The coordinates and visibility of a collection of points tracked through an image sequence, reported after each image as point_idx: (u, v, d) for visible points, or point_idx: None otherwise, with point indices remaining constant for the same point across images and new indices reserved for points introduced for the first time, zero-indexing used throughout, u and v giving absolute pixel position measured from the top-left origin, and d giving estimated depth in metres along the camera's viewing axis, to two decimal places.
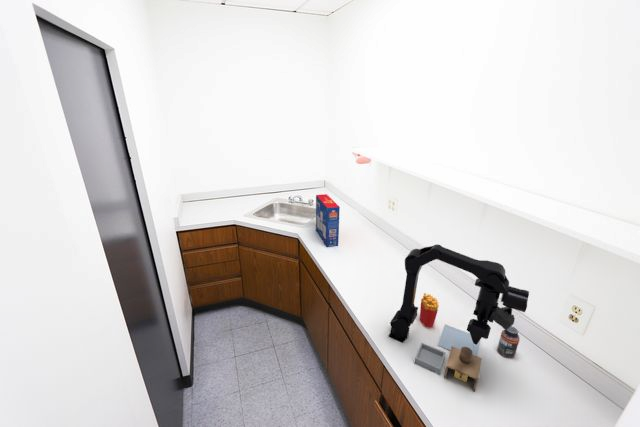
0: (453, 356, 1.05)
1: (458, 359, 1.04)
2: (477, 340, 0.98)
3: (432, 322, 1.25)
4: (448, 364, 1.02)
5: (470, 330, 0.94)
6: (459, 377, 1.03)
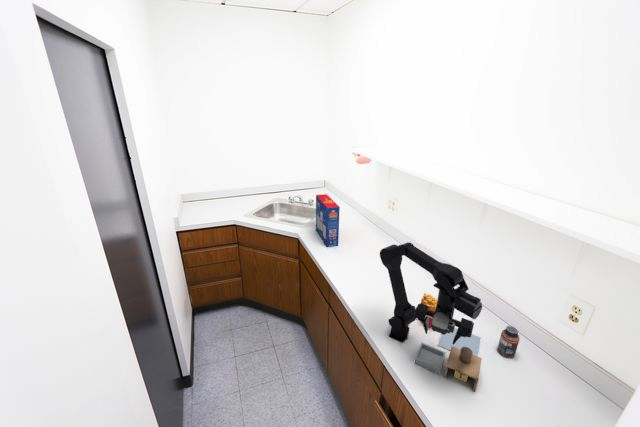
0: (453, 356, 1.05)
1: (458, 359, 1.04)
2: None
3: None
4: (448, 364, 1.02)
5: None
6: (459, 377, 1.03)
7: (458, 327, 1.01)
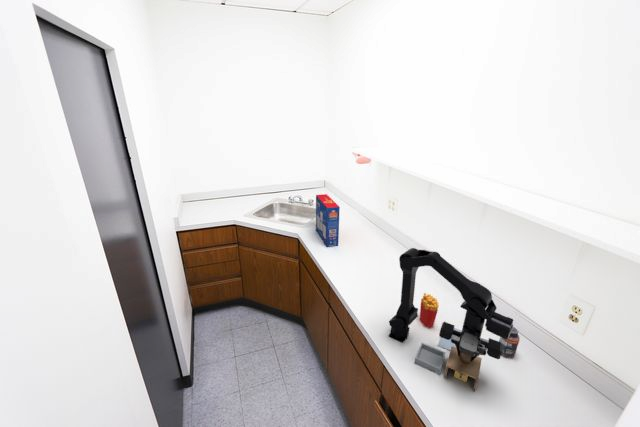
0: (453, 356, 1.05)
1: (458, 359, 1.04)
2: None
3: (432, 322, 1.25)
4: (448, 364, 1.02)
5: None
6: (459, 377, 1.03)
7: None
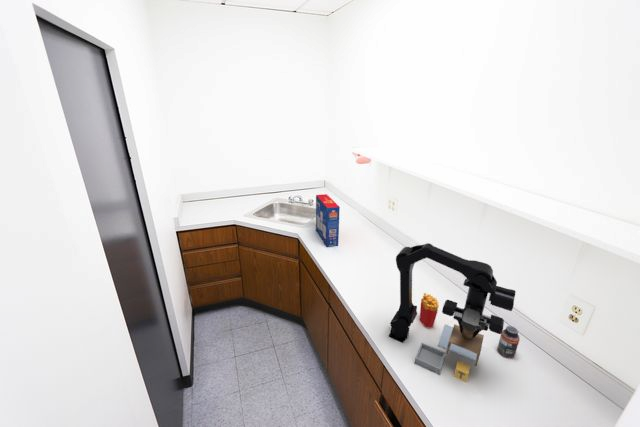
0: (455, 333, 1.07)
1: (460, 336, 1.06)
2: None
3: (432, 322, 1.25)
4: (450, 340, 1.04)
5: None
6: (459, 377, 1.03)
7: None
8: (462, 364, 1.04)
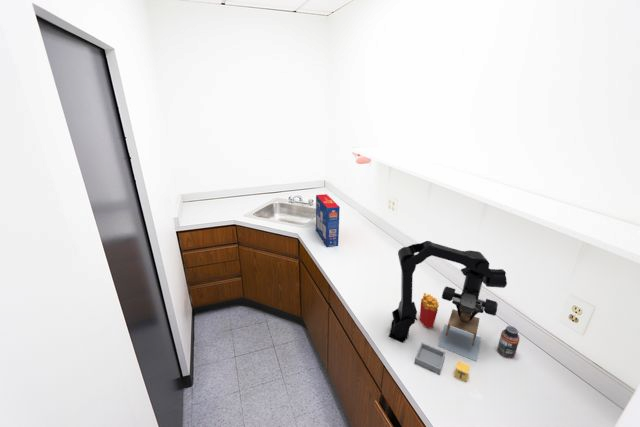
0: (454, 316, 1.17)
1: (458, 319, 1.16)
2: None
3: (432, 322, 1.25)
4: (449, 322, 1.14)
5: None
6: (459, 377, 1.03)
7: None
8: (462, 364, 1.04)
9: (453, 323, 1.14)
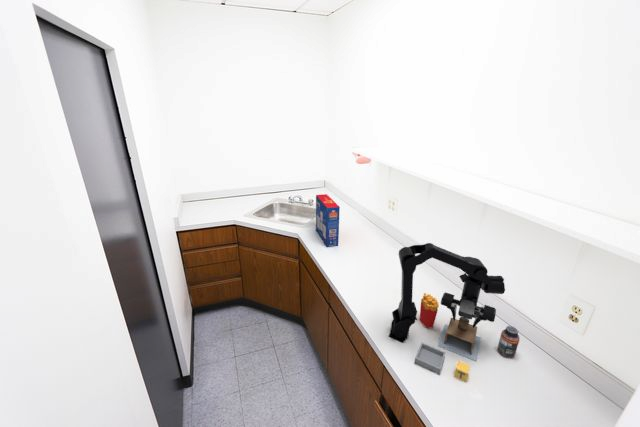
0: (452, 325, 1.19)
1: (457, 327, 1.18)
2: None
3: (432, 322, 1.25)
4: (448, 331, 1.16)
5: None
6: (459, 377, 1.03)
7: None
8: (462, 364, 1.04)
9: (451, 332, 1.15)
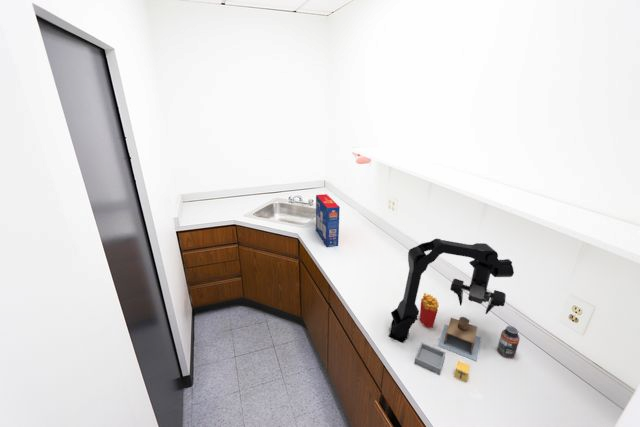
0: (452, 325, 1.19)
1: (457, 327, 1.18)
2: None
3: (432, 322, 1.25)
4: (448, 331, 1.16)
5: None
6: (459, 377, 1.03)
7: (491, 298, 1.14)
8: (462, 364, 1.04)
9: (451, 332, 1.15)
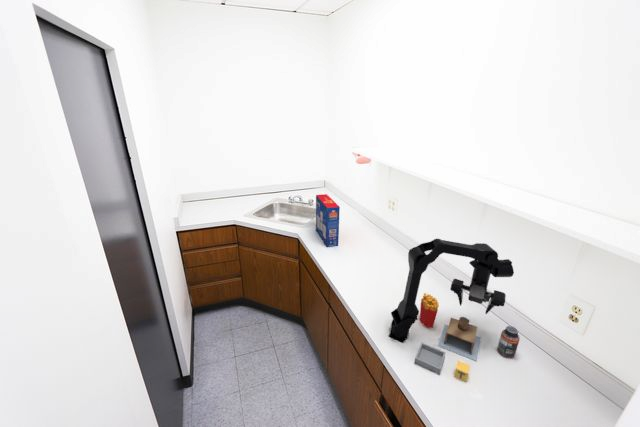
0: (452, 325, 1.19)
1: (457, 327, 1.18)
2: None
3: (432, 322, 1.25)
4: (448, 331, 1.16)
5: None
6: (459, 377, 1.03)
7: (491, 298, 1.14)
8: (462, 364, 1.04)
9: (451, 332, 1.15)
